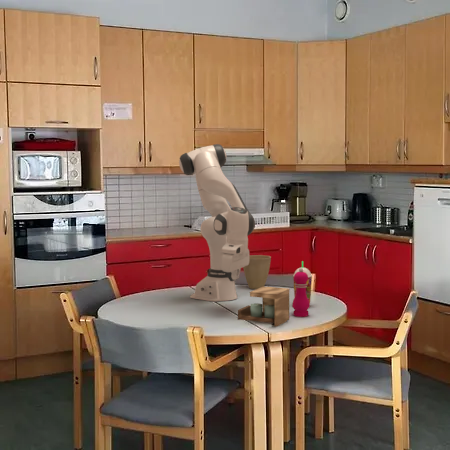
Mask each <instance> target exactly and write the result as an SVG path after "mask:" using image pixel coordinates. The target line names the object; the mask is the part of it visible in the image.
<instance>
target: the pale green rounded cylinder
mask: <svg viewBox="0 0 450 450" xmlns="http://www.w3.org/2000/svg"><path fill="white" fill-rule="evenodd" d="M265 318H270V319H273V318H275V305H265Z"/></svg>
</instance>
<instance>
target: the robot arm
mask: <svg viewBox="0 0 450 450" xmlns="http://www.w3.org/2000/svg"><path fill="white" fill-rule="evenodd" d="M178 161H179V162H178V163H179V166H178V167H179V169H180V170H181V172H182V173H183V174H184V175H185V176H193V175H195V181H196V182H195V183H196V185H197V186H196V188H197V189H198V194H199V197H200V201H201V204H202V207H203V208H204V209H205V210H206V211H207V212H208V213H209V214H210V217H208V218H206V219H205V220H203V221H202V222H201V224H200V234H201V235H202V237H203V238H204V239H205V240H206V243H207V246H208V248H209V256H210V257H209V258H210V261H209V262H210V263H209V264H210V268H208V269H206V270H205V274H206V273H207V276H205V277H204V278H202V279H201V280H200V281H199V282H197V283H196V285H195V289H194V293H191V294H190V297H189V298H190V299H194V300H195V299H196V300H201V301H208V302H223V301H224V302H225V301H233V300H237V299H238V294H237V291H236V290H237V289H236V283H235V281H236V280H238V279H239V278H240V273H241V270H242V269H243V267H245V266H247V265H249V256H250V249H249V247H248V246H249V238H248V236H250V235H251V234H252V232H253V231H254V230H255V228H256V221H255V217H254V215H252V213H251V212H250V211H249V209H248V208H247V206H246V203H244V200H243V198H242V197H241V195H240V193H239V191H238V189H237V187H236V186H235V184H233V183H232V182H231V181H230V180H229V179H228V178H227V177H226V175H225V173H224V172H223V170H222V167H224V165H225V164H226V162H227V152H226V149H225V148H224V147H223V145H222V144H220V143H215V144H212V145H207V146H202V147H199V148H197V149H194V150H191V151H188V152H184V153H183V154H181V155H180V156H179V160H178ZM229 204H230V205H229Z"/></svg>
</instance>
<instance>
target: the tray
mask: <svg viewBox="0 0 450 450" xmlns="http://www.w3.org/2000/svg"><path fill="white" fill-rule="evenodd" d="M237 320H242V321H249V322H261V323H269V324H271V326H275V318H273V319H270V318H265V312H263V311H262V318H261V317H251V304H249V305H246V306H244V307H242V308H241V307H240V308H239V309H237Z"/></svg>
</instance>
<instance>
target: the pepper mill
mask: <svg viewBox="0 0 450 450" xmlns="http://www.w3.org/2000/svg"><path fill="white" fill-rule="evenodd" d="M299 268H300V269H299V272H297V273H296V274H295V275H294V274H293V275H294V280H293V282H294V281H295V282H296V283H295V287H296V295H295V297H293V300H292V304H291V305H292V308H293V309H294V310H293V311H292V312H293V316H294V317H297V318H305V317H308V316H309V308H310V307H311V306H310V304H311V302H310V303H309V300H308V298H307V295H306V287H307V283H306V282H307V281H308V275H307V274H306V273H305V272H303V269H302V268H301V267H299Z"/></svg>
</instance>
